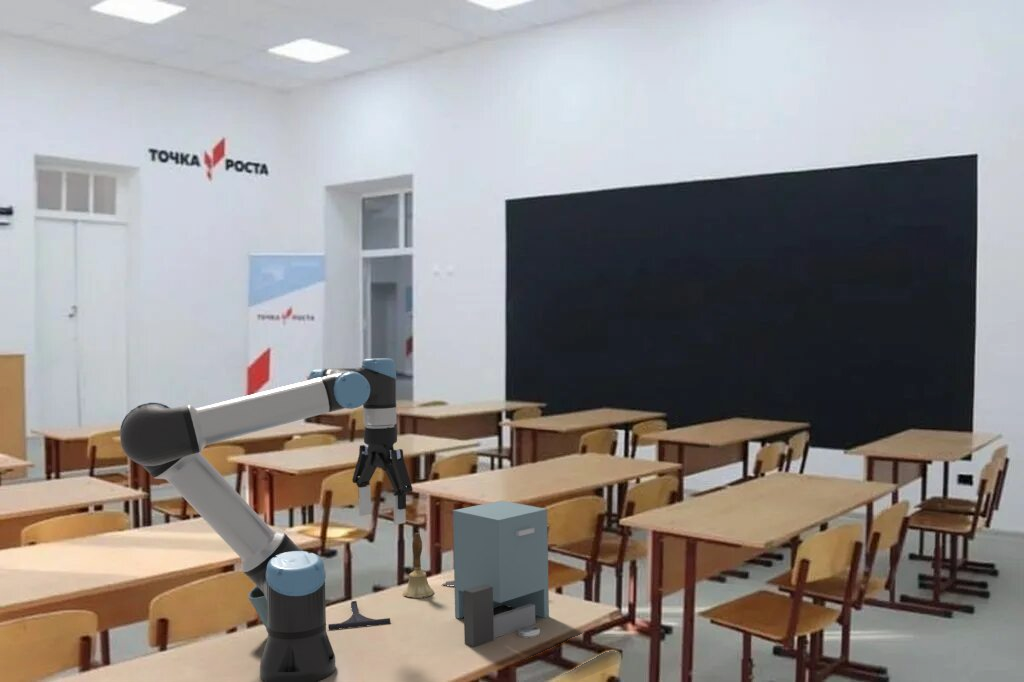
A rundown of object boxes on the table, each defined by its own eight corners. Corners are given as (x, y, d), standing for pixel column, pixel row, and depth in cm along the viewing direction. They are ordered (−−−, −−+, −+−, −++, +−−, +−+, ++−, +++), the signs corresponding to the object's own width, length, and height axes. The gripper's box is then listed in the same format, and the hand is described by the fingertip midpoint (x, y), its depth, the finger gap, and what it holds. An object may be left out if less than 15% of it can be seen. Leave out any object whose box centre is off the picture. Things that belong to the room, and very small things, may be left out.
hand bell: (398, 591, 240) (397, 532, 239) (428, 587, 243) (427, 528, 243) (407, 600, 232) (406, 538, 232) (438, 595, 235) (437, 535, 235)
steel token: (530, 640, 202) (530, 635, 202) (513, 635, 205) (513, 630, 205) (544, 634, 206) (544, 629, 206) (528, 630, 209) (527, 624, 209)
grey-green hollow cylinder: (269, 631, 212) (248, 588, 210) (309, 612, 214) (289, 568, 212) (270, 650, 203) (247, 604, 200) (312, 628, 205) (290, 583, 202)
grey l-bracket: (473, 647, 198) (472, 592, 197) (464, 643, 200) (463, 590, 200) (537, 624, 211) (536, 573, 211) (528, 621, 214) (527, 571, 213)
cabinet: (503, 634, 205) (501, 520, 205) (455, 617, 218) (453, 510, 217) (552, 617, 216) (550, 509, 216) (503, 602, 229) (501, 500, 228)
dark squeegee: (382, 607, 229) (382, 596, 229) (390, 626, 214) (390, 614, 214) (324, 614, 225) (324, 603, 225) (328, 633, 210) (328, 621, 210)
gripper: (427, 428, 199) (428, 524, 199) (363, 420, 217) (365, 508, 217) (399, 431, 194) (401, 530, 194) (336, 423, 212) (338, 513, 212)
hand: (382, 519), depth 206 cm, fingers open, 13 cm apart
